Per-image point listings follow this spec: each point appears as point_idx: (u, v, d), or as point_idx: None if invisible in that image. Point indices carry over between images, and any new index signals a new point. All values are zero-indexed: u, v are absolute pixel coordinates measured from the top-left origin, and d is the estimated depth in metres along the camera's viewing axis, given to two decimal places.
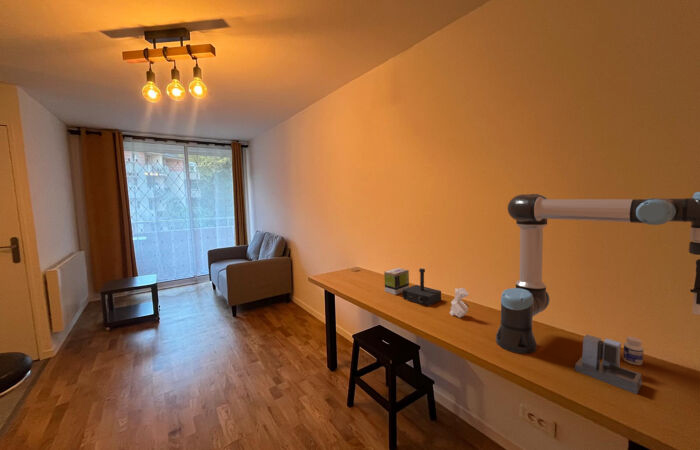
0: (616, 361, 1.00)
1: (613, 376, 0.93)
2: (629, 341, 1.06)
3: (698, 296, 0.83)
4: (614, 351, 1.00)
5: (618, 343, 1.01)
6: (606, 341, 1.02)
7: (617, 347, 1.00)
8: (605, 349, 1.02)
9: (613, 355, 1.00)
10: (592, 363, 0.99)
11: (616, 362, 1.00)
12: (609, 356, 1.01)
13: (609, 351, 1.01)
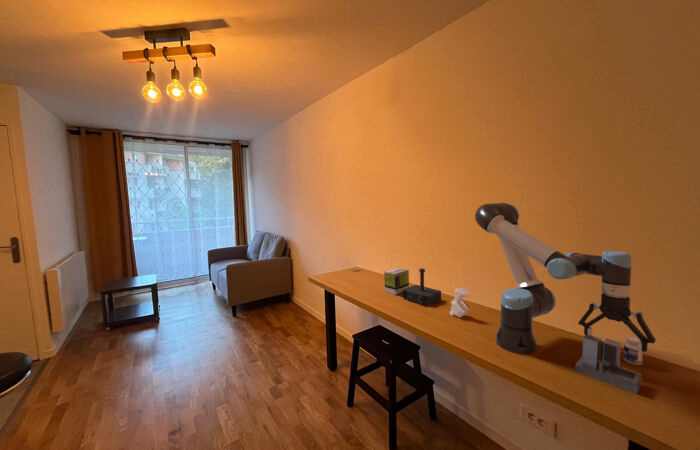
0: (616, 361, 1.00)
1: (613, 376, 0.93)
2: (629, 341, 1.06)
3: None
4: (614, 351, 1.00)
5: (618, 343, 1.01)
6: (606, 341, 1.02)
7: (617, 347, 1.00)
8: (605, 349, 1.02)
9: (613, 355, 1.00)
10: (592, 363, 0.99)
11: (616, 362, 1.00)
12: (609, 356, 1.01)
13: (609, 351, 1.01)
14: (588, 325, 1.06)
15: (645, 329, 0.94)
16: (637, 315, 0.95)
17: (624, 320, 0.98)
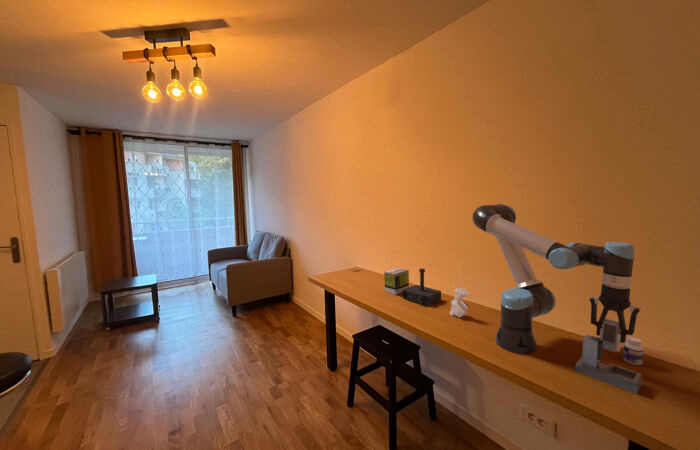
0: (615, 340, 1.00)
1: (613, 376, 0.93)
2: (629, 341, 1.06)
3: None
4: (614, 330, 0.99)
5: (618, 323, 1.01)
6: (606, 321, 1.02)
7: (617, 326, 0.99)
8: (605, 329, 1.01)
9: (612, 334, 1.00)
10: (592, 363, 0.99)
11: (616, 342, 1.00)
12: (608, 336, 1.01)
13: (609, 331, 1.00)
14: (600, 324, 1.04)
15: (632, 322, 0.97)
16: (635, 310, 0.96)
17: (619, 311, 0.99)
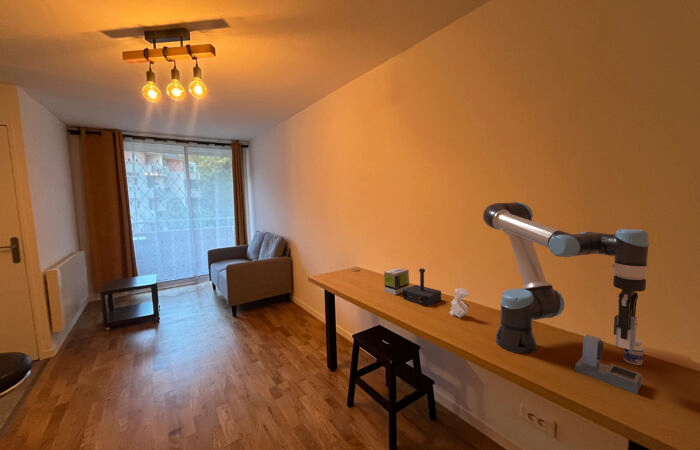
0: (616, 333, 0.94)
1: (613, 376, 0.93)
2: None
3: None
4: (614, 321, 0.94)
5: None
6: None
7: (617, 318, 0.93)
8: None
9: (614, 325, 0.94)
10: (592, 363, 0.99)
11: (616, 334, 0.94)
12: None
13: None
14: None
15: None
16: None
17: None
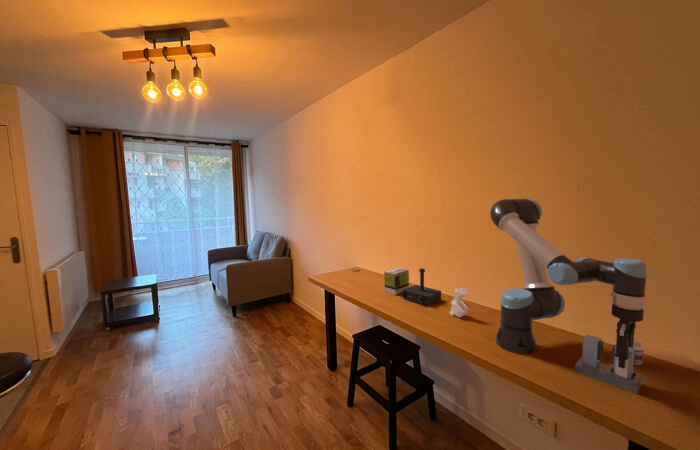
0: (614, 363, 0.95)
1: (613, 376, 0.93)
2: None
3: None
4: (612, 351, 0.95)
5: None
6: None
7: (615, 348, 0.94)
8: None
9: (612, 355, 0.96)
10: (592, 363, 0.99)
11: (614, 364, 0.95)
12: None
13: None
14: None
15: None
16: None
17: None
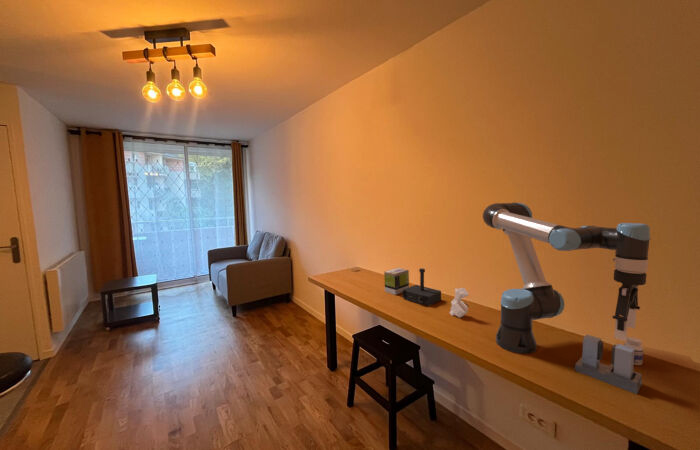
0: (614, 363, 0.95)
1: (613, 376, 0.93)
2: (629, 341, 1.06)
3: None
4: (612, 351, 0.95)
5: (625, 350, 0.92)
6: (621, 345, 0.95)
7: (615, 348, 0.94)
8: None
9: (612, 355, 0.96)
10: (592, 363, 0.99)
11: (614, 364, 0.95)
12: None
13: None
14: None
15: (617, 304, 0.88)
16: None
17: None
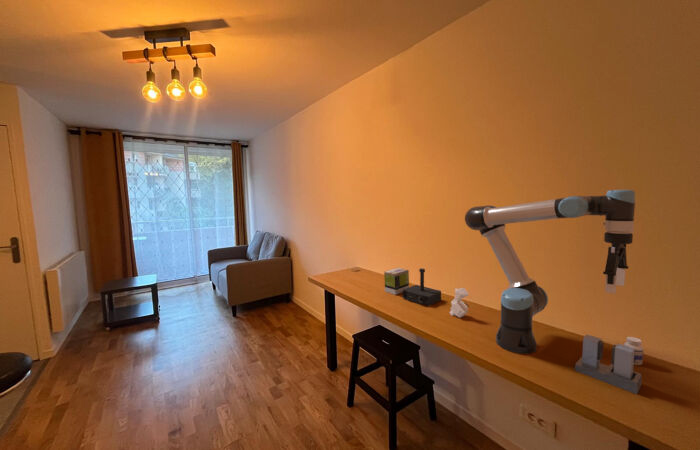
0: (614, 363, 0.95)
1: (613, 376, 0.93)
2: (629, 341, 1.06)
3: None
4: (612, 351, 0.95)
5: (625, 350, 0.92)
6: (621, 345, 0.95)
7: (615, 348, 0.94)
8: None
9: (612, 355, 0.96)
10: (592, 363, 0.99)
11: (614, 364, 0.95)
12: None
13: None
14: None
15: None
16: None
17: None
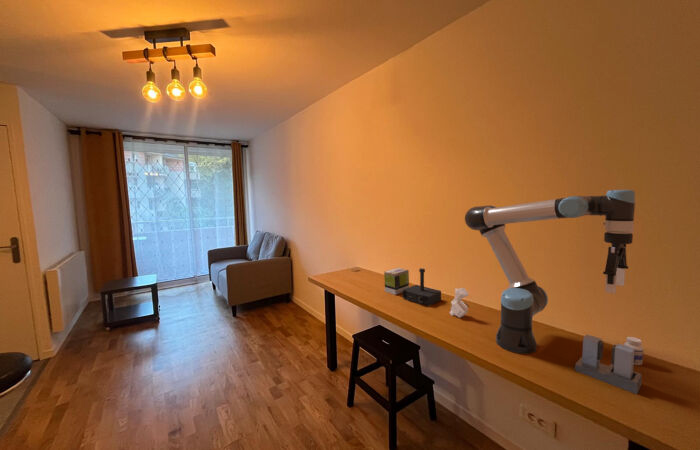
0: (614, 363, 0.95)
1: (613, 376, 0.93)
2: (629, 341, 1.06)
3: None
4: (612, 351, 0.95)
5: (625, 350, 0.92)
6: (621, 345, 0.95)
7: (615, 348, 0.94)
8: None
9: (612, 355, 0.96)
10: (592, 363, 0.99)
11: (614, 364, 0.95)
12: None
13: None
14: None
15: (607, 261, 0.99)
16: None
17: None
